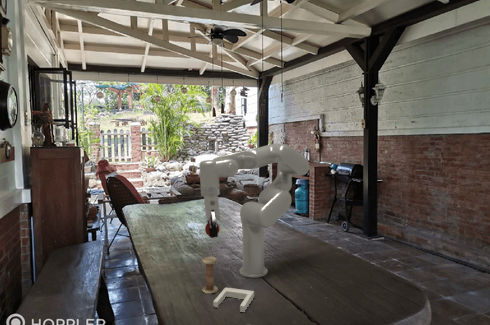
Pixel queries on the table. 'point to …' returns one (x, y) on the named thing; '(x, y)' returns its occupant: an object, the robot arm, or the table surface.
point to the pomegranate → (209, 227)
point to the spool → (209, 275)
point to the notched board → (235, 293)
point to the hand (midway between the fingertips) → (212, 234)
